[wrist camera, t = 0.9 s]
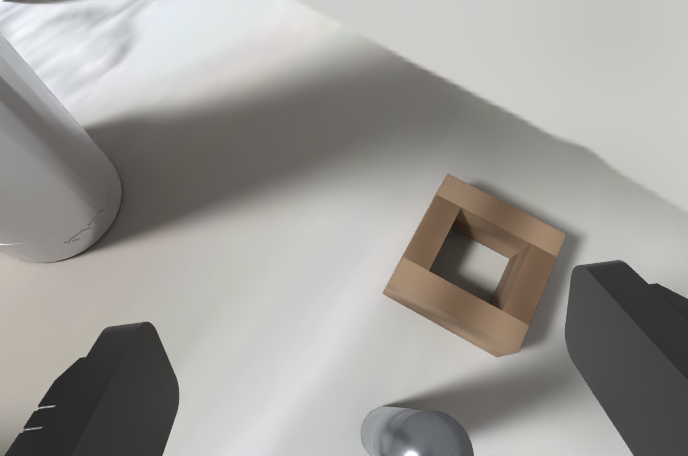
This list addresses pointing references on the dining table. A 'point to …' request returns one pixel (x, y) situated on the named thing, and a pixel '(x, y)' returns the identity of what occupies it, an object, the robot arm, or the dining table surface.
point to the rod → (413, 433)
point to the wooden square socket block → (495, 233)
